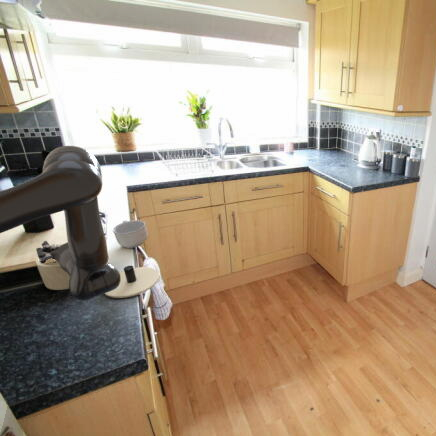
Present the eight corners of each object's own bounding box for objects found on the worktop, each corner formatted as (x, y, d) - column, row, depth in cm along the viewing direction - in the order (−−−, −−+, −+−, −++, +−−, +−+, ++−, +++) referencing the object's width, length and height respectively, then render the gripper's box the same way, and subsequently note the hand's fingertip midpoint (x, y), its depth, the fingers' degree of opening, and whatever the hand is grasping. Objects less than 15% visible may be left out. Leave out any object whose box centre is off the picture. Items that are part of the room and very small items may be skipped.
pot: (54, 300, 93) (44, 275, 89) (37, 273, 104) (28, 251, 101) (110, 278, 103) (103, 256, 100) (89, 256, 115) (83, 235, 111)
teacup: (150, 247, 122) (146, 228, 119) (117, 253, 117) (112, 234, 114) (147, 232, 133) (143, 215, 130) (117, 238, 128) (112, 220, 124)
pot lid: (114, 306, 91) (109, 289, 88) (95, 284, 100) (90, 268, 98) (169, 282, 102) (165, 267, 100) (147, 264, 111) (144, 249, 109)
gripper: (101, 238, 94) (83, 222, 103) (38, 257, 84) (25, 237, 93) (107, 260, 97) (89, 242, 107) (48, 280, 87) (34, 258, 96)
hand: (59, 239), depth 100 cm, fingers open, 6 cm apart
